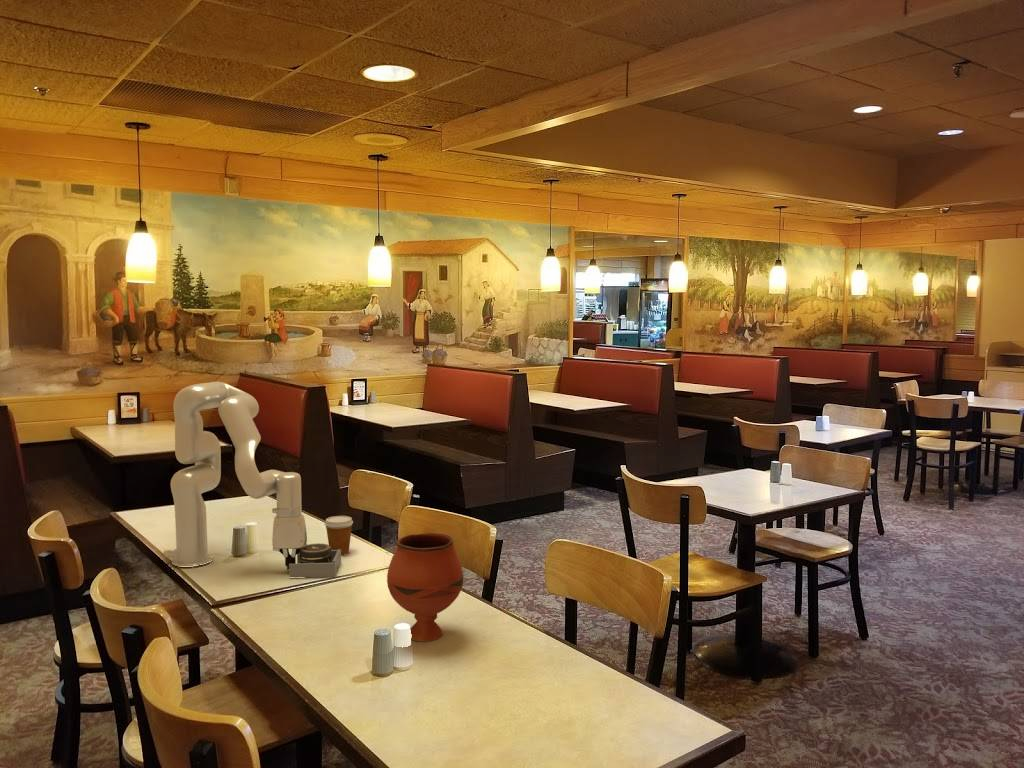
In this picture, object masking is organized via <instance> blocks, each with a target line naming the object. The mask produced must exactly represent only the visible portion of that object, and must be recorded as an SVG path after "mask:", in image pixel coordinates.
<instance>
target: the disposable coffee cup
mask: <svg viewBox="0 0 1024 768" xmlns="http://www.w3.org/2000/svg"><path fill="white" fill-rule="evenodd" d="M353 524H354V521H353V519H352V517H350V516H347V515H334V516H329V517H328V518H326V519H325V522H324V526H325V529H326V536H327V540H328V541H327V543H328V545H330V546H331V550H338V549H341V555H343V556H345V555H344V554H347V553H348V554H349V553H350V544H351V536H352V528H353V527H352V526H353ZM348 554H347V555H348Z"/></svg>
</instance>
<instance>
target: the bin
mask: <svg viewBox="0 0 1024 768" xmlns="http://www.w3.org/2000/svg"><path fill="white" fill-rule="evenodd" d="M331 552H332V554H331V563H300V557H299V553H298V554H297V555H296V561H297V563H296V564H289V570H288V572H289V573H288V574H289V577H334V578H336V577H337V575H336V574H338V572H339V570H340V567H341V565H342V556H341V549H338V550H331ZM340 564H341V565H340ZM339 566H340V567H339ZM338 569H339V570H338ZM337 571H338V572H337ZM335 576H336V577H335Z"/></svg>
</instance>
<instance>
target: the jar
mask: <svg viewBox="0 0 1024 768" xmlns="http://www.w3.org/2000/svg"><path fill="white" fill-rule="evenodd" d="M331 554H332V552H331V546H330V545H329V544H326V543H308V544H307V548H300V551H299V557H300V563H331Z"/></svg>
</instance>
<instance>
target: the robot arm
mask: <svg viewBox="0 0 1024 768" xmlns="http://www.w3.org/2000/svg"><path fill="white" fill-rule="evenodd" d="M172 405H173V414H174V415H173V417H174V453H175V457H176V460H177V461H178V462H179V463H180V464H183V465H190V464H191V465H192V464H194V465H192V466H191V465H190V466H188V467H185V468H183V469H180V470H178V471H177V472H175V473H174V474H173V476H172V477H171V480H170V491H171V494H172V498H173V503H174V504H173V505H174V517H175V518H174V519H175V545H176V549H173V550H169V549H167V550H166V549H165V550H164V551H163V556H164V557H165V558H166V559H168V558H172V560H171V565H172V564H173V565H175V566H193V565H200V564H204V563H207V562H209V561H211V560H212V559H213V560H214V556H213V555H211V554H210V553H209V550H208V549H209V548H208V525H207V524H208V521H207V520H208V519H207V508H206V502H205V500H204V498H203V496H202V494H203V493H206V492H209V491H213V490H214V489H215V488H216V487H218V485H219V484H220V481H221V474H222V469H221V468H222V466H221V465H222V464H221V463H222V460H221V459H222V458H221V457H222V456H221V453H222V450H221V444H220V441H219V438H218V437H217V436H216V435H215V433H213V432H211V431H207V430H204V420H203V417H202V415H201V413H200V412H201V411H204V410H210V409H216V408H217V409H218V414H219V417H220V419H221V421H222V423H223V425H224V427H225V430H226V432H227V433H228V436H229V437H230V441H232V445H233V447H234V449H235V453H234V469H235V474H236V477H237V479H238V481H239V483H240V485H241V487H242V489H243V490H244V492H245V493H246V495H248V497H249V498H251V499H255V500H258V499H263V498H265V497H268V496H270V495H273V494H276V507H275V508H272V510H271V511H272V513H274V514H275V516H274V518H273V524H272V525H273V526H272V536H271V537H272V538H271V539H272V540H271V541H272V542H271V543H272V544H271V545H272V550H273V552H278V553H280V554H281V555H283V557H284V559H285V560H284V561H285V562H284V563H285V567H286V570H288V571H289V564H297V563H296V561H297V554H298V553H299V551H300V548H307V545H308V544H307V543H308V532H307V525H306V519H305V515H304V514H302V510H303V509H302V477H301V475H300V473H298V472H294V471H287V472H285V471H282V470H277V469H269V470H265V471H262V472H260V471H259V470H258V467H257V464H256V460H255V453H256V450H257V448H258V446H259V443H260V442H261V439H262V437H261V434H260V432H259V429H258V428H257V425H256V423H255V421H254V418H255V417H257V416H258V414H259V411H260V406H259V403H258V400H256V398H255V397H254V396H252V395H251V394H250V393H248V392H245V391H243V390H242V389H239V388H237V387H235V386H232V385H230V384H228V383H226V382H223V381H210V382H201V383H197V384H196V383H195V384H190V385H189V386H186V387H184V388H182V389H180V390H179V391H178V392H177V393H176V395H175V397H174V400H173V403H172ZM290 549H292V550H291V554H290ZM173 565H172V566H173ZM175 566H174V567H175Z"/></svg>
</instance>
